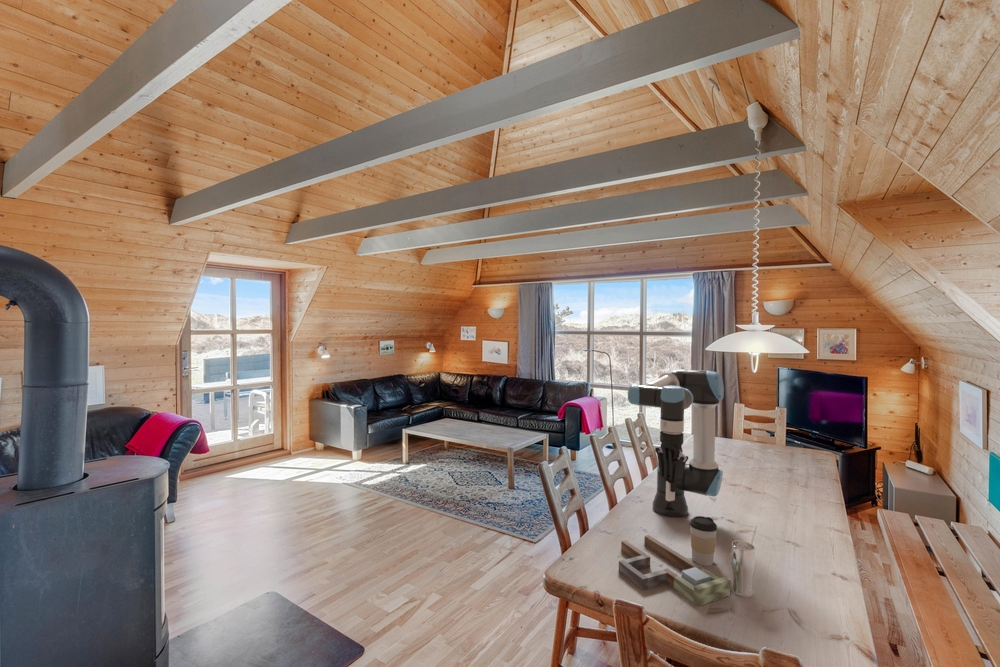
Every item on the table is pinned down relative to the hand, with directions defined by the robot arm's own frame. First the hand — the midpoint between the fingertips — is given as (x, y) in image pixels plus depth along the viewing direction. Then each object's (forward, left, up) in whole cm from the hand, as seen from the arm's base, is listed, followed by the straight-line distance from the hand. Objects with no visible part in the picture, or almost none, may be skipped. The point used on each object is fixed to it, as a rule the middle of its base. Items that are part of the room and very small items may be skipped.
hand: (670, 499), depth 157 cm
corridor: (+5, +1, -24) cm, 25 cm away
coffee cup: (-16, 0, -25) cm, 29 cm away
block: (0, +12, -25) cm, 27 cm away
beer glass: (-12, +19, -25) cm, 33 cm away
